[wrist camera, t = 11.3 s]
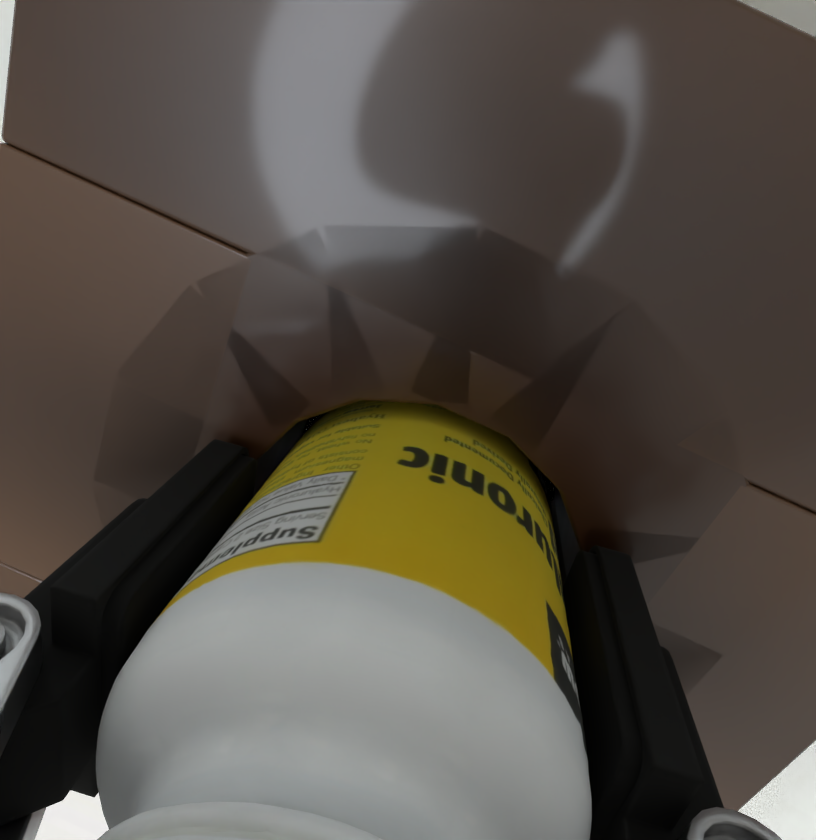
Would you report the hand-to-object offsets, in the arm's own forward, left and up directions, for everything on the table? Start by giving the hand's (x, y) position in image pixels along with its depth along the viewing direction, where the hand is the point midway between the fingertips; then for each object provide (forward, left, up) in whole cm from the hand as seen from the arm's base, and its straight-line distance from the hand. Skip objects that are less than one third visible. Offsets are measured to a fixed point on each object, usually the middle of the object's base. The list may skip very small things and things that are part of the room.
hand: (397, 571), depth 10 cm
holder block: (0, 0, -4) cm, 4 cm away
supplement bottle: (0, 0, -3) cm, 3 cm away
